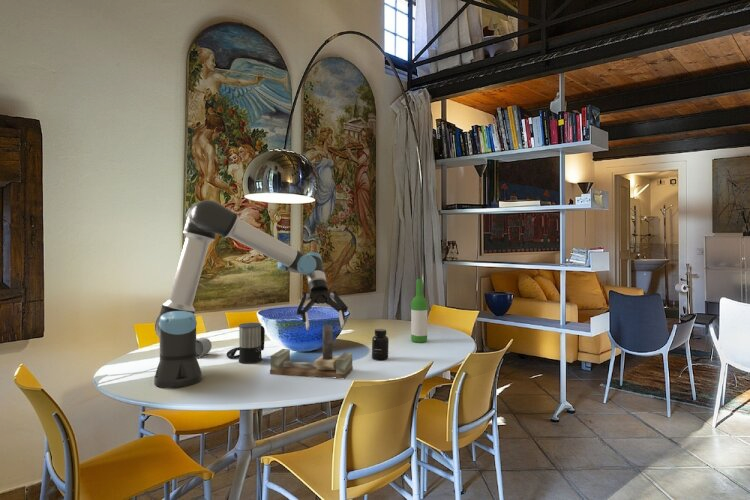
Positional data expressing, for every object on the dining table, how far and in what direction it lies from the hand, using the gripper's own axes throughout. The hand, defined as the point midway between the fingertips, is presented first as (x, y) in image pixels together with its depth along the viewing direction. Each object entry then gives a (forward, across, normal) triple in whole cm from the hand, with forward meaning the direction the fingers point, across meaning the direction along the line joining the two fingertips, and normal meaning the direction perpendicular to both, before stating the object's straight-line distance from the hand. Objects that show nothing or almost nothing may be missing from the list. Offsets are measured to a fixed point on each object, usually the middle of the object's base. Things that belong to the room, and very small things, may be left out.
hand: (325, 327), depth 179 cm
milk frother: (-4, +29, -26) cm, 40 cm away
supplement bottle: (+7, -24, -15) cm, 29 cm away
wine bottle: (-10, -53, -33) cm, 63 cm away
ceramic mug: (-12, +48, -35) cm, 60 cm away
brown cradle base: (+14, +6, -7) cm, 17 cm away
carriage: (+15, +1, -4) cm, 16 cm away
